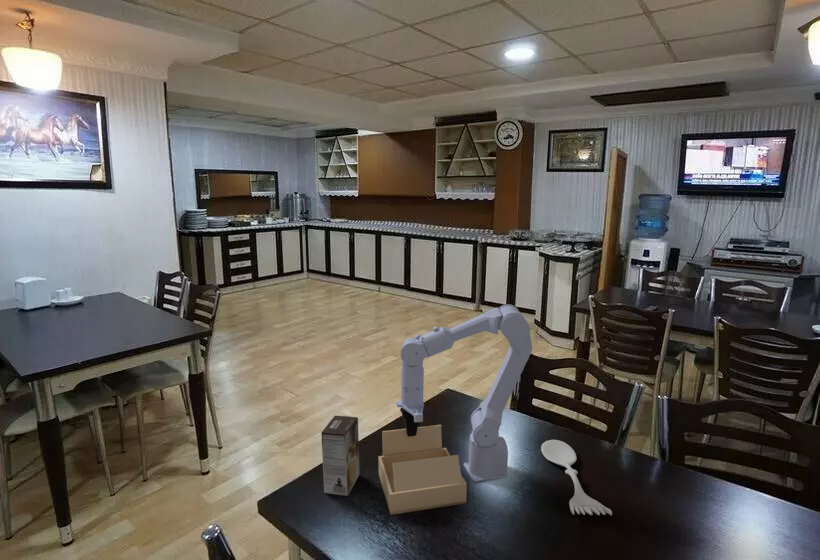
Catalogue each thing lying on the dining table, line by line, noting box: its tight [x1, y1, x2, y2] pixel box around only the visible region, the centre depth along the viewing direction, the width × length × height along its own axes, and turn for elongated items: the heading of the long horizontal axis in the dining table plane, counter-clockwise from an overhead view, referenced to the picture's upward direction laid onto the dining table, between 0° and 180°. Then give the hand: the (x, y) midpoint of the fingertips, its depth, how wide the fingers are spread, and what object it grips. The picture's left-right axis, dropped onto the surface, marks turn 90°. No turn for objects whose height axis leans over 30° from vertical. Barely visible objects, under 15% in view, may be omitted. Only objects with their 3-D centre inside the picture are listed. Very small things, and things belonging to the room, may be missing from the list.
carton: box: [377, 447, 468, 516], centre depth 114 cm, size 18×16×5 cm
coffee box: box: [321, 415, 361, 497], centre depth 115 cm, size 9×6×16 cm
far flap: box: [381, 424, 443, 456], centre depth 121 cm, size 16×6×1 cm
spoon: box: [540, 439, 613, 516], centre depth 117 cm, size 9×32×4 cm, turn 178°
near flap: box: [392, 454, 462, 492], centre depth 107 cm, size 16×6×1 cm
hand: (411, 435), depth 121 cm, fingers closed, pressing on far flap
